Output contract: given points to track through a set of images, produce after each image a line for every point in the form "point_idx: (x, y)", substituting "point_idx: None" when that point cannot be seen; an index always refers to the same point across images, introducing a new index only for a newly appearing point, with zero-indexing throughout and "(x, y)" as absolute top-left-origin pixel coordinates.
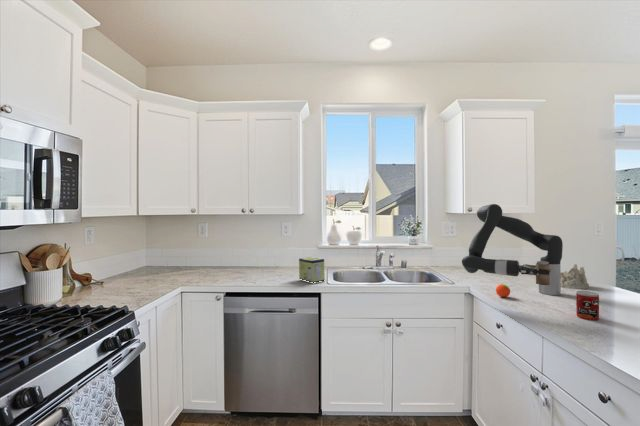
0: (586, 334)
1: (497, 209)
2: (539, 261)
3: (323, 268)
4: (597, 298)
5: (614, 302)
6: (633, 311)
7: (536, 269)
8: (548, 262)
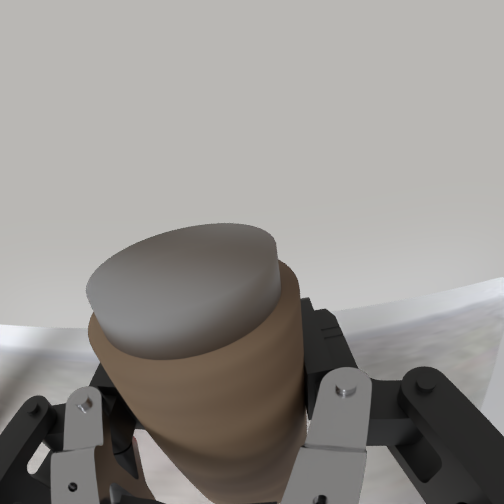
0: (415, 360)
1: None
2: (162, 283)
3: None
4: None
5: (34, 348)
6: None
7: (412, 370)
8: (193, 230)
